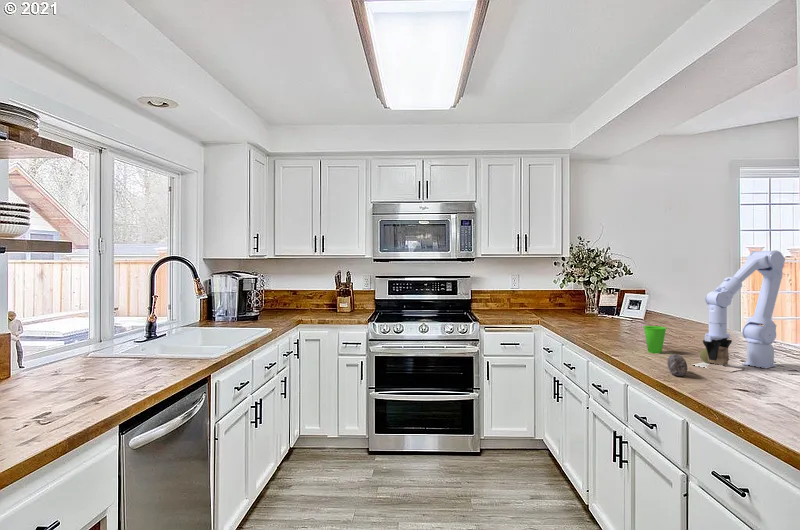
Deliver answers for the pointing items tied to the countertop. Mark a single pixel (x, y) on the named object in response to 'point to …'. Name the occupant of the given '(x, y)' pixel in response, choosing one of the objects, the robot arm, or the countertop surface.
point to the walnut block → (720, 356)
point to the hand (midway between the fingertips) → (717, 359)
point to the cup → (654, 338)
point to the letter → (702, 364)
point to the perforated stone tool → (677, 365)
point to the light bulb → (704, 356)
